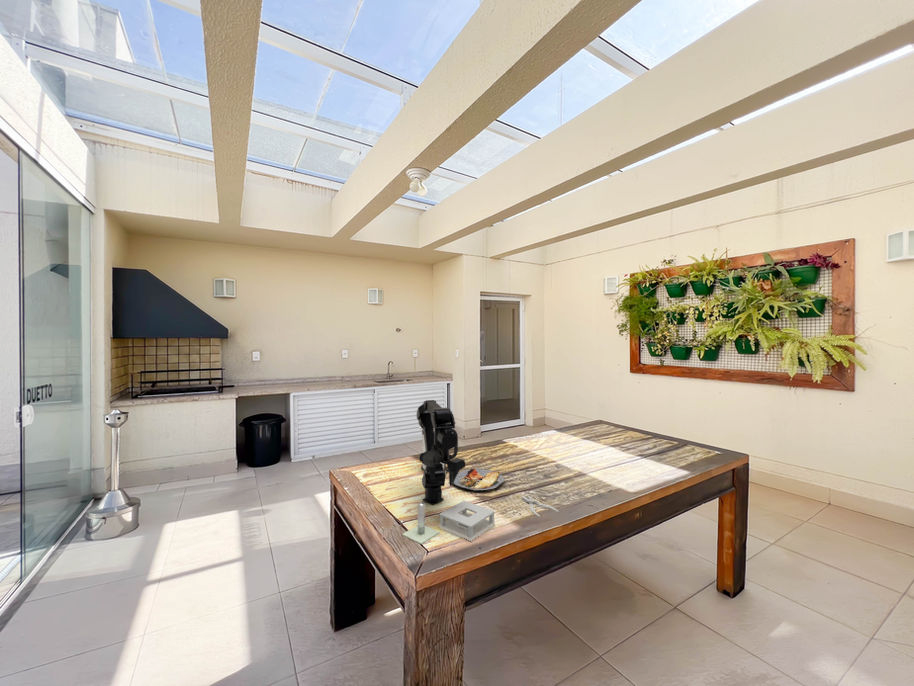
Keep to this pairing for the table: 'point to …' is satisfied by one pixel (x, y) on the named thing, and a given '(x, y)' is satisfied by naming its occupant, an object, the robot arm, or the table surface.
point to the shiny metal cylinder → (421, 518)
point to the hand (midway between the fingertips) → (441, 483)
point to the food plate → (473, 475)
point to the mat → (418, 538)
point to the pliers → (536, 504)
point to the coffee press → (451, 455)
